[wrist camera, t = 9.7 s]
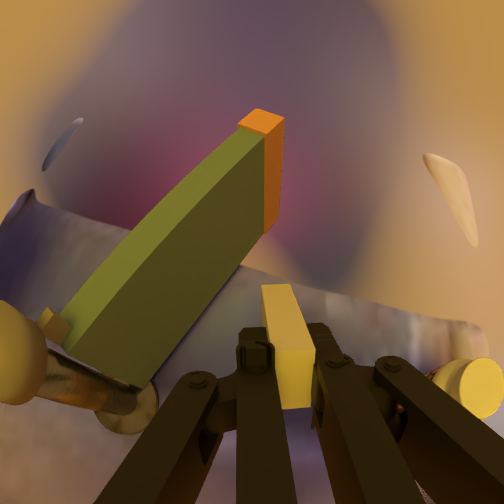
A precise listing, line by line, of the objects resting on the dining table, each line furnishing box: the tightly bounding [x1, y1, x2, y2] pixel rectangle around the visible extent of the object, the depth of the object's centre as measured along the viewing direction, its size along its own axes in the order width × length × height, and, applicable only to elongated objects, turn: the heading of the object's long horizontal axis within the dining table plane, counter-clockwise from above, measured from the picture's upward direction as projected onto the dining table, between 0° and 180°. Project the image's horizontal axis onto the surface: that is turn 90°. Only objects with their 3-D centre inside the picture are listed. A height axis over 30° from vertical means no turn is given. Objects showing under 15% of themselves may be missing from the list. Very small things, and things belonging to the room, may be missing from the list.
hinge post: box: [35, 347, 159, 434], centre depth 17 cm, size 6×6×14 cm
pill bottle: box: [399, 358, 504, 420], centre depth 18 cm, size 5×5×10 cm
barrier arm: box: [0, 108, 285, 405], centre depth 20 cm, size 24×4×15 cm, turn 146°
